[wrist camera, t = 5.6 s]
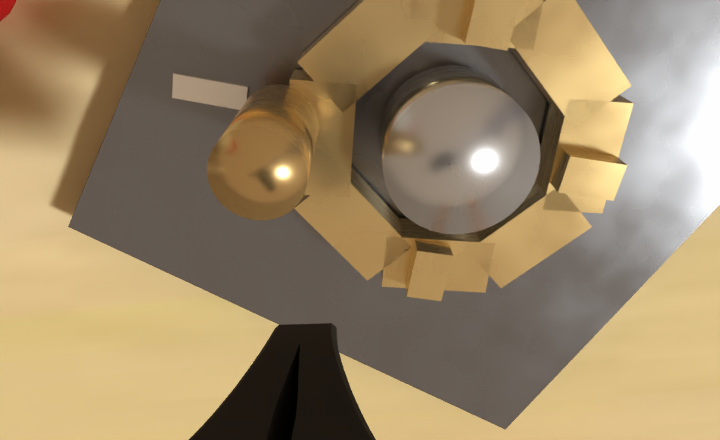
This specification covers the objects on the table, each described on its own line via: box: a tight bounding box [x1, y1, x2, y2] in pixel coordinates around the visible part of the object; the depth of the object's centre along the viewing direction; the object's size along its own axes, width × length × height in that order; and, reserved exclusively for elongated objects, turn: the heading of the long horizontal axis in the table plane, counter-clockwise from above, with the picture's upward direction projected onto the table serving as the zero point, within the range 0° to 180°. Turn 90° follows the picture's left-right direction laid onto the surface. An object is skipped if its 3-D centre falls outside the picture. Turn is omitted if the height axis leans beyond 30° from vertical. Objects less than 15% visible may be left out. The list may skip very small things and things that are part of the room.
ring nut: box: [207, 0, 634, 301], centre depth 17 cm, size 11×10×6 cm
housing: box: [68, 0, 720, 429], centre depth 18 cm, size 20×20×4 cm
